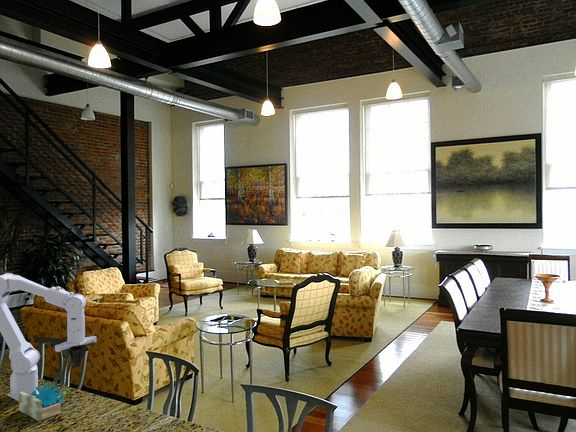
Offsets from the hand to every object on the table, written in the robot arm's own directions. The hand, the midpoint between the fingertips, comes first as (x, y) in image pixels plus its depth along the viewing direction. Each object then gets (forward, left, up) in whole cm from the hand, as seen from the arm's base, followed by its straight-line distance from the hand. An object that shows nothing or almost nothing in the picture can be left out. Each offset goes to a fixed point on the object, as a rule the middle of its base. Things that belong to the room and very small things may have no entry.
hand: (76, 366), depth 165 cm
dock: (+5, -16, -9) cm, 19 cm away
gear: (+5, -12, -10) cm, 16 cm away
